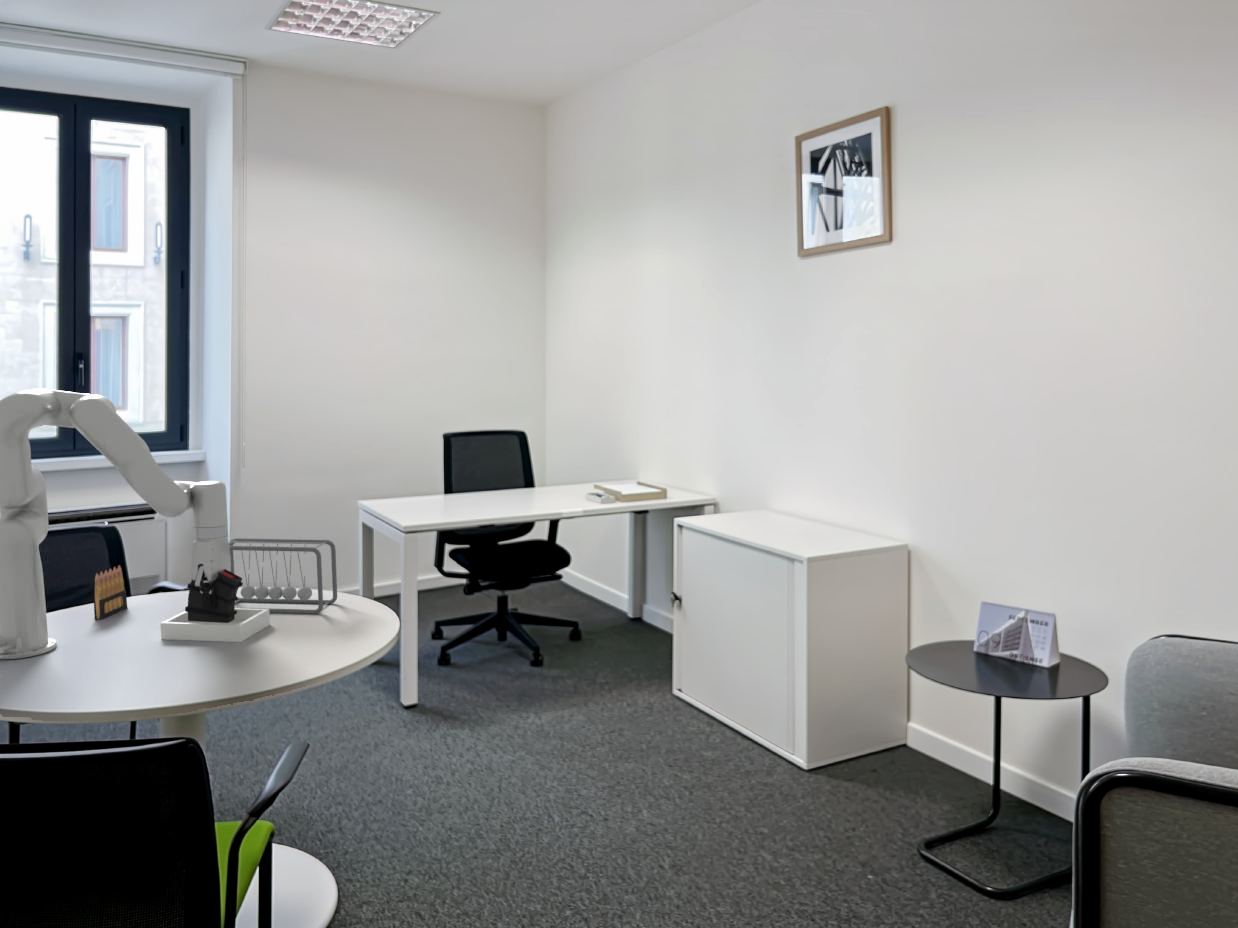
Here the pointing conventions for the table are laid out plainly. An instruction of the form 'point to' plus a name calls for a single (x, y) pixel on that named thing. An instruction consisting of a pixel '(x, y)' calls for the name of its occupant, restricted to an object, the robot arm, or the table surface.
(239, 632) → the parts tray
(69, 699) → the table surface
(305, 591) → the newton's cradle
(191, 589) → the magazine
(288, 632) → the table surface
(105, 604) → the ammunition clip
